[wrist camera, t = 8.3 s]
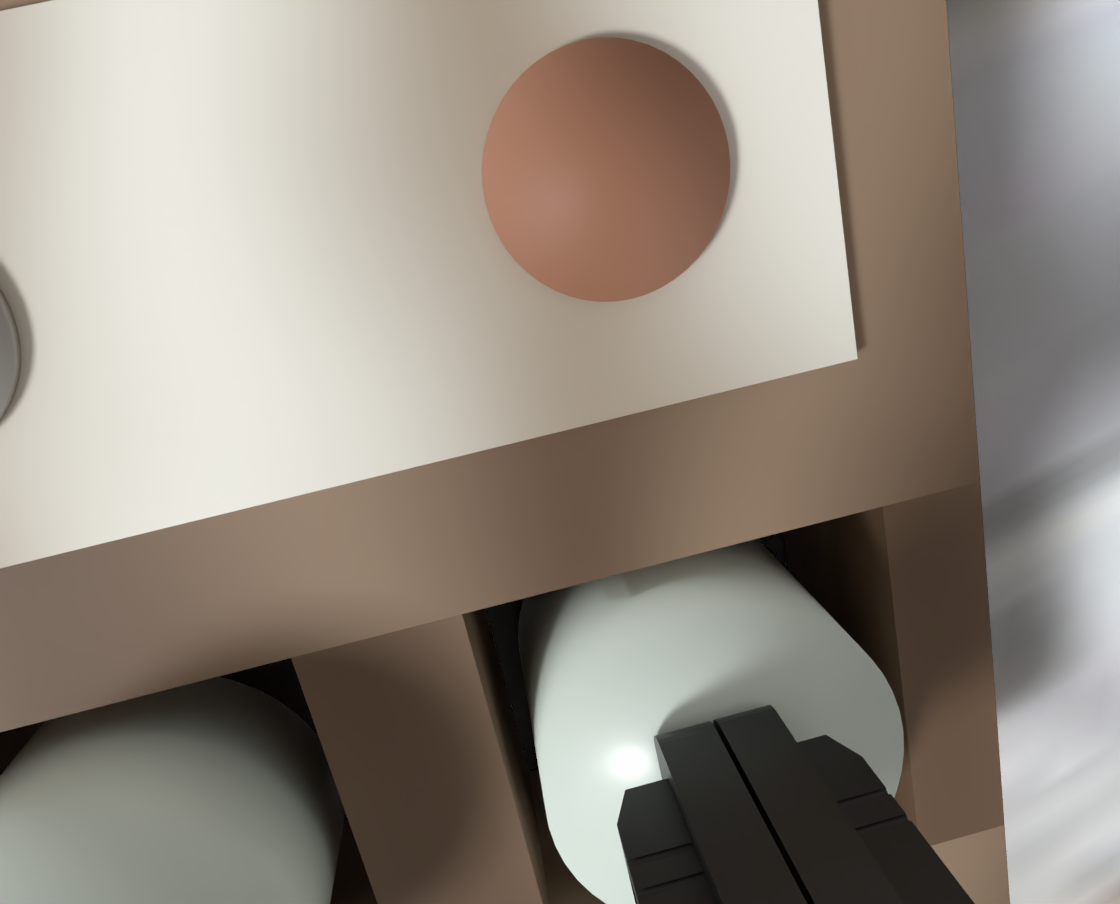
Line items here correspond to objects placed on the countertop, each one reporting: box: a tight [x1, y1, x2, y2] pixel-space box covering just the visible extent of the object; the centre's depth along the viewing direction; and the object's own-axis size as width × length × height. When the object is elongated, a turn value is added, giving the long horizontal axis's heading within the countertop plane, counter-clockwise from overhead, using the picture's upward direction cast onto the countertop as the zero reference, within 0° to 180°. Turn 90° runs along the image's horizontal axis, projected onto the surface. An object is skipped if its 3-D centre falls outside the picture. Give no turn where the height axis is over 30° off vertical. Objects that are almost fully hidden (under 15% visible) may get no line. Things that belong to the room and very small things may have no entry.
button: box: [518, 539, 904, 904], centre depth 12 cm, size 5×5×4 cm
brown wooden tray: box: [0, 0, 1010, 904], centre depth 12 cm, size 23×16×4 cm
